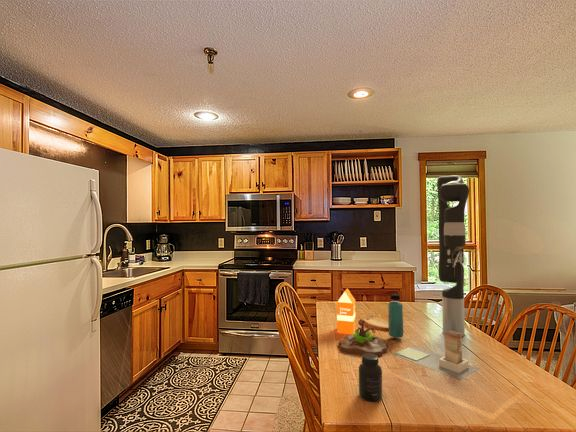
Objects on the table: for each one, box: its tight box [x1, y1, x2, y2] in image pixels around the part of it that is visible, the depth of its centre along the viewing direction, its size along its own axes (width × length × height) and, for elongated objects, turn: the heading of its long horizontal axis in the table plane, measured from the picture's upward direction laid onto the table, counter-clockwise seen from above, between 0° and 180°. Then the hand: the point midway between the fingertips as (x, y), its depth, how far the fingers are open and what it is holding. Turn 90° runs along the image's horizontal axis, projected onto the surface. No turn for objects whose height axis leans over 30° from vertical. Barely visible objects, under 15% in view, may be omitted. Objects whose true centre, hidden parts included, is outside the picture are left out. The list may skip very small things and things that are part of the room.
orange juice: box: [336, 288, 356, 335], centre depth 156 cm, size 8×9×20 cm
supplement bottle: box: [358, 353, 383, 403], centre depth 96 cm, size 7×7×12 cm
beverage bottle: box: [387, 293, 404, 339], centre depth 145 cm, size 6×7×20 cm
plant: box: [337, 320, 388, 357], centre depth 135 cm, size 20×20×11 cm
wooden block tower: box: [444, 330, 463, 364], centre depth 114 cm, size 4×4×12 cm
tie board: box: [392, 345, 480, 381], centre depth 119 cm, size 14×26×4 cm, turn 36°
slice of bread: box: [358, 315, 389, 332], centre depth 164 cm, size 18×18×4 cm
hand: (455, 275), depth 124 cm, fingers open, 8 cm apart
